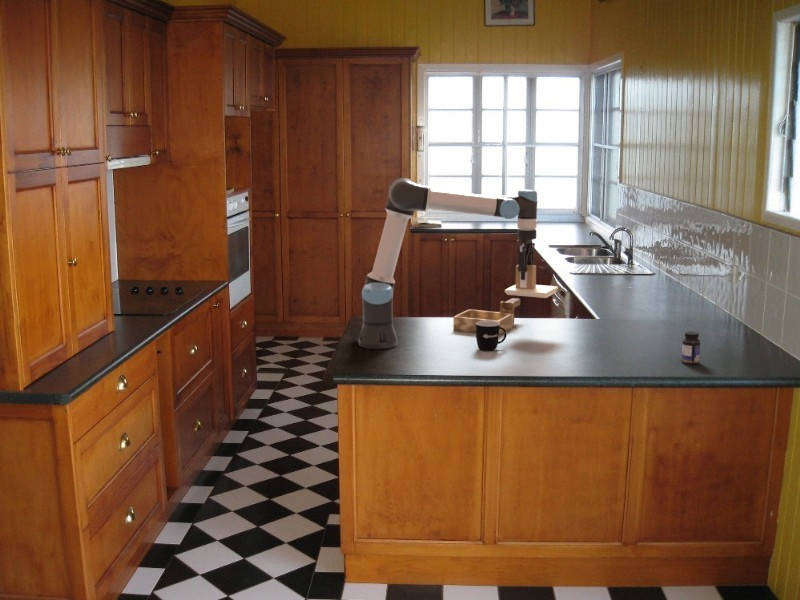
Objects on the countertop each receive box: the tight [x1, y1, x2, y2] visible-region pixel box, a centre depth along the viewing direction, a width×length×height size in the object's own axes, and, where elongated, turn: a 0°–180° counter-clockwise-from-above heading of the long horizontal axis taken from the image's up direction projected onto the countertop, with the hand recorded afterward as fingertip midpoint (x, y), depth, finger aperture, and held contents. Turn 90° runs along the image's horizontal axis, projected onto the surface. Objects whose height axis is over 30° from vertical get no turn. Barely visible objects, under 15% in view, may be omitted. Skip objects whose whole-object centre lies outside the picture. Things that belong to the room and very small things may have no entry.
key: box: [503, 297, 521, 310], centre depth 378 cm, size 4×11×2 cm, turn 153°
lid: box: [504, 264, 559, 299], centre depth 355 cm, size 17×16×11 cm
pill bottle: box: [681, 330, 701, 365], centre depth 316 cm, size 6×6×11 cm
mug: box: [475, 321, 507, 352], centre depth 336 cm, size 12×9×10 cm
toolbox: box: [452, 300, 515, 337], centre depth 369 cm, size 20×18×10 cm
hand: (525, 286), depth 357 cm, fingers closed on lid, 4 cm apart
